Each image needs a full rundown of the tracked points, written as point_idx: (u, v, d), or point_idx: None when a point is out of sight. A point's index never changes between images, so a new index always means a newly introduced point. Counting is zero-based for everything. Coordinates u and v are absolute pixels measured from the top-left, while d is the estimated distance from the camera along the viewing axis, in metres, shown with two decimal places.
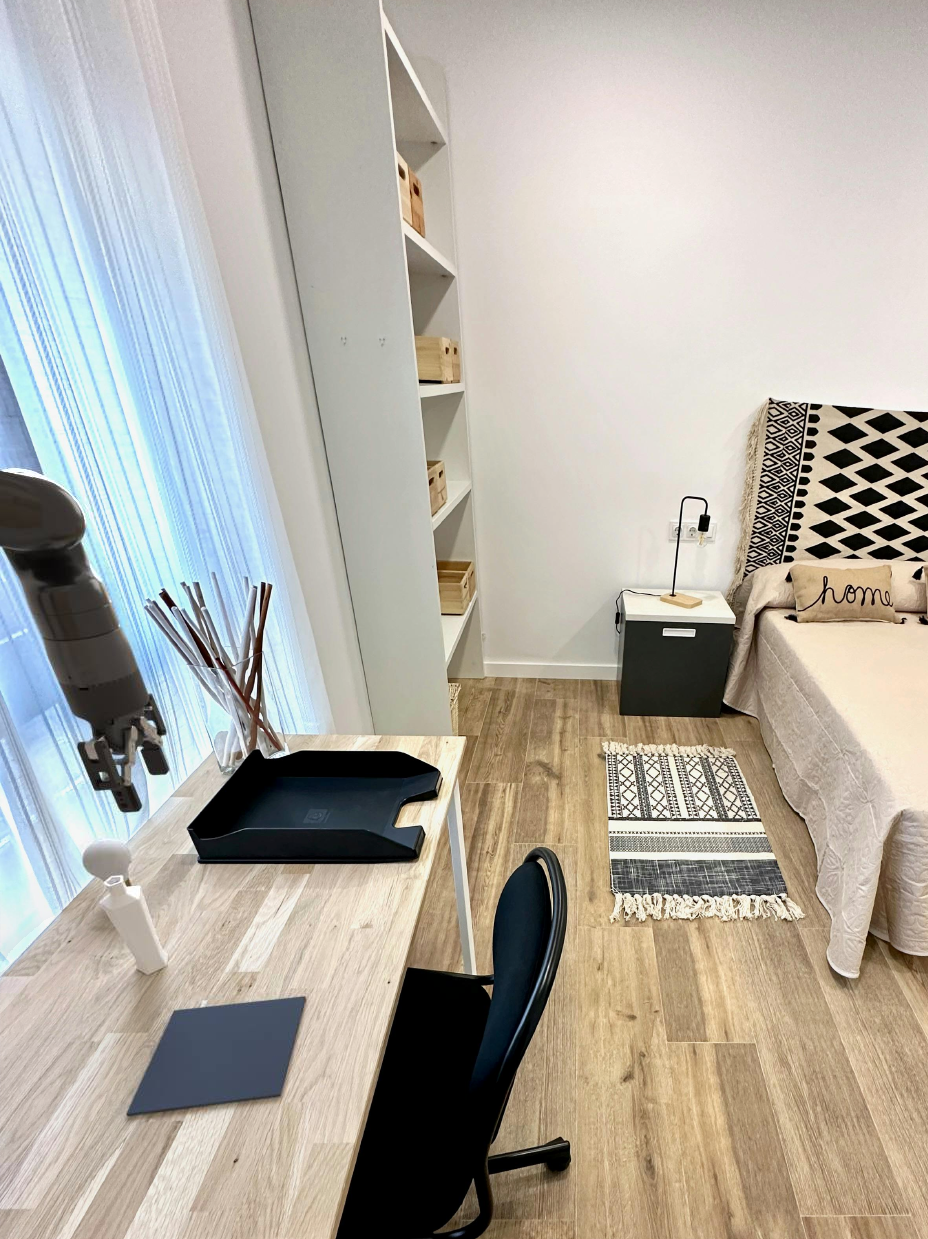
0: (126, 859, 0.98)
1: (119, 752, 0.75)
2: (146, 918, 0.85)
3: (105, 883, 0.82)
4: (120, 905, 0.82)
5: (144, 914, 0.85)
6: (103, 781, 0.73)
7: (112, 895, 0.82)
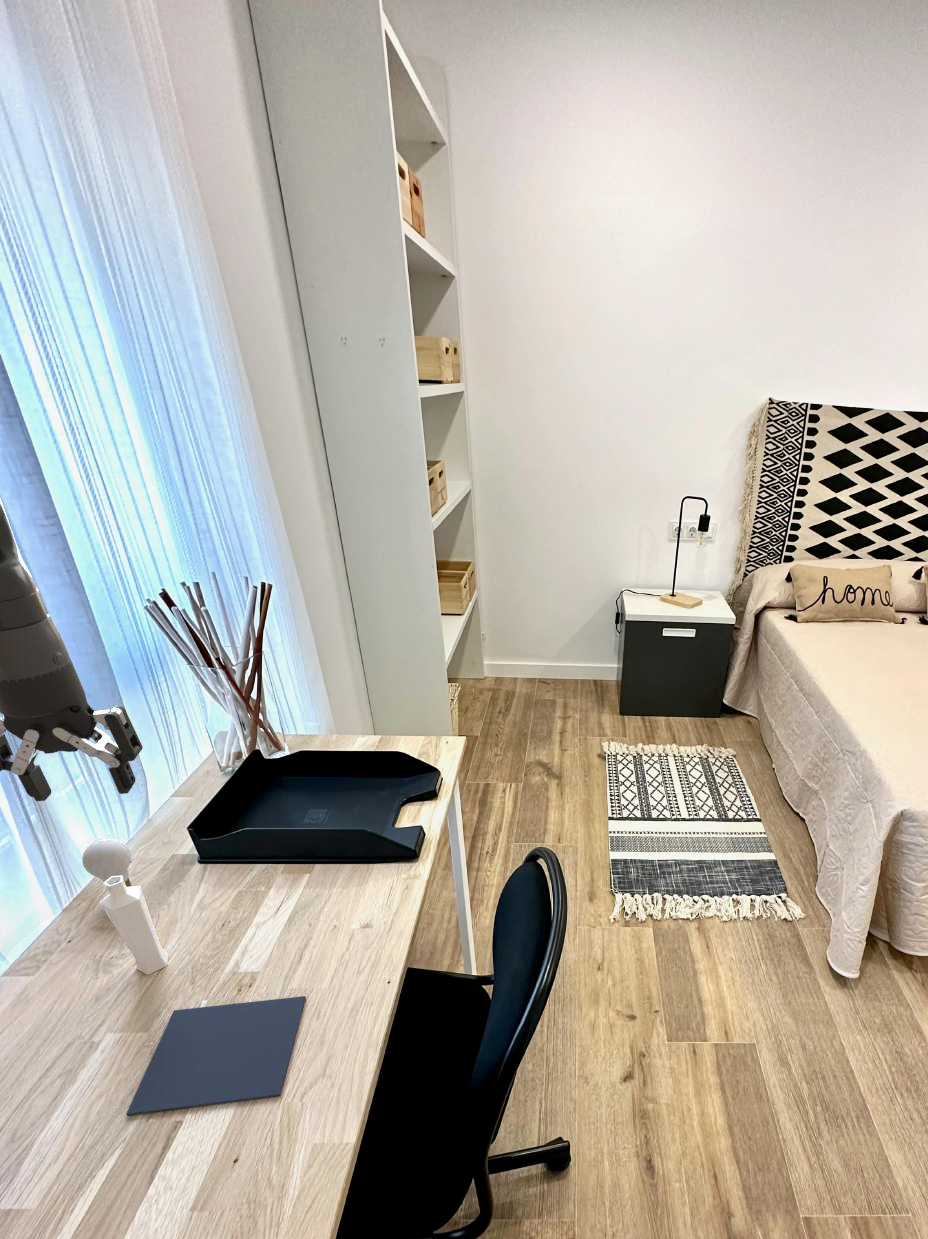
0: (126, 859, 0.98)
1: None
2: (146, 918, 0.85)
3: (105, 883, 0.82)
4: (120, 905, 0.82)
5: (144, 914, 0.85)
6: None
7: (112, 895, 0.82)
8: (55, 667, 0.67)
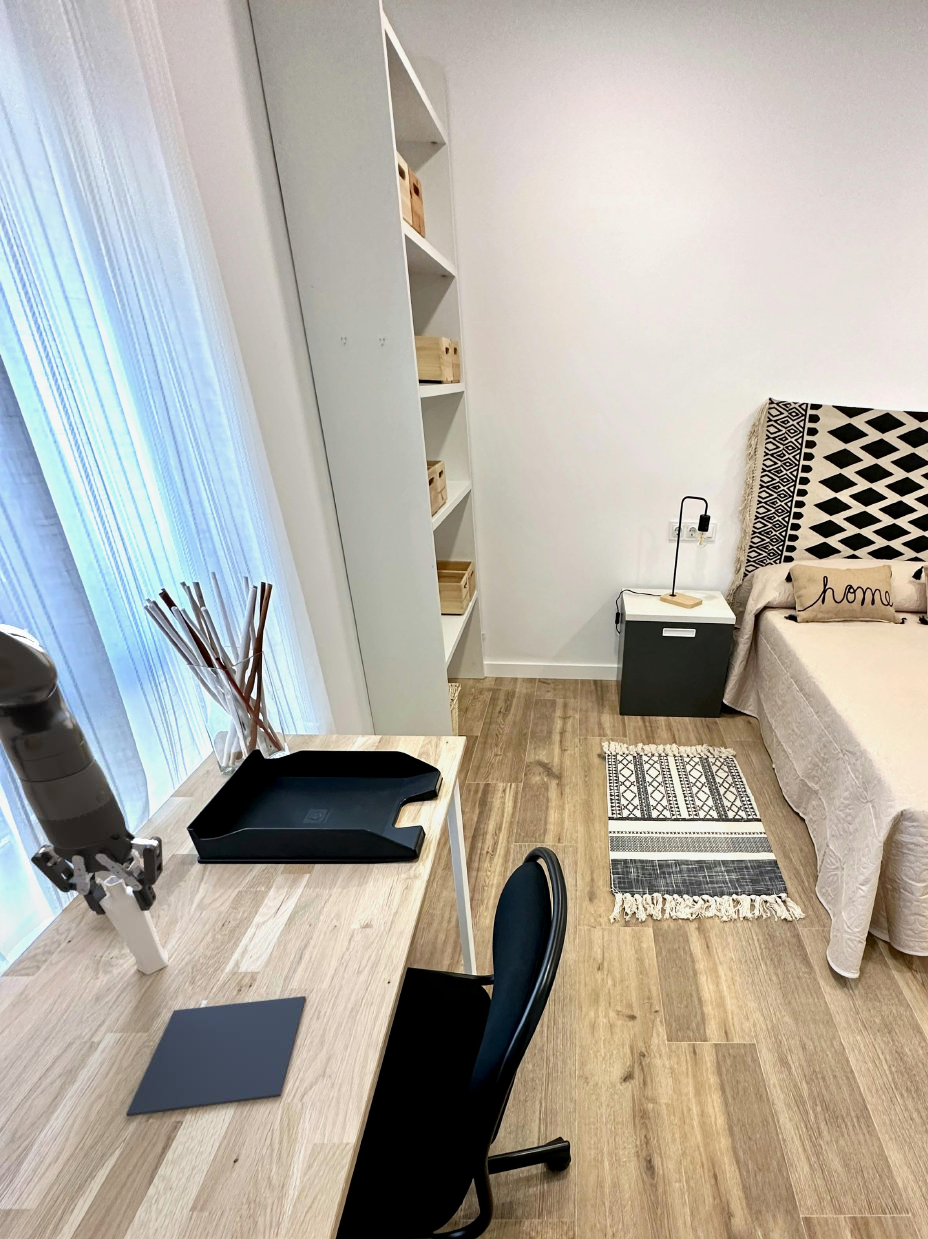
0: None
1: None
2: (146, 918, 0.85)
3: (105, 883, 0.82)
4: (120, 904, 0.82)
5: (144, 914, 0.85)
6: (66, 878, 0.81)
7: (112, 895, 0.82)
8: (98, 805, 0.75)
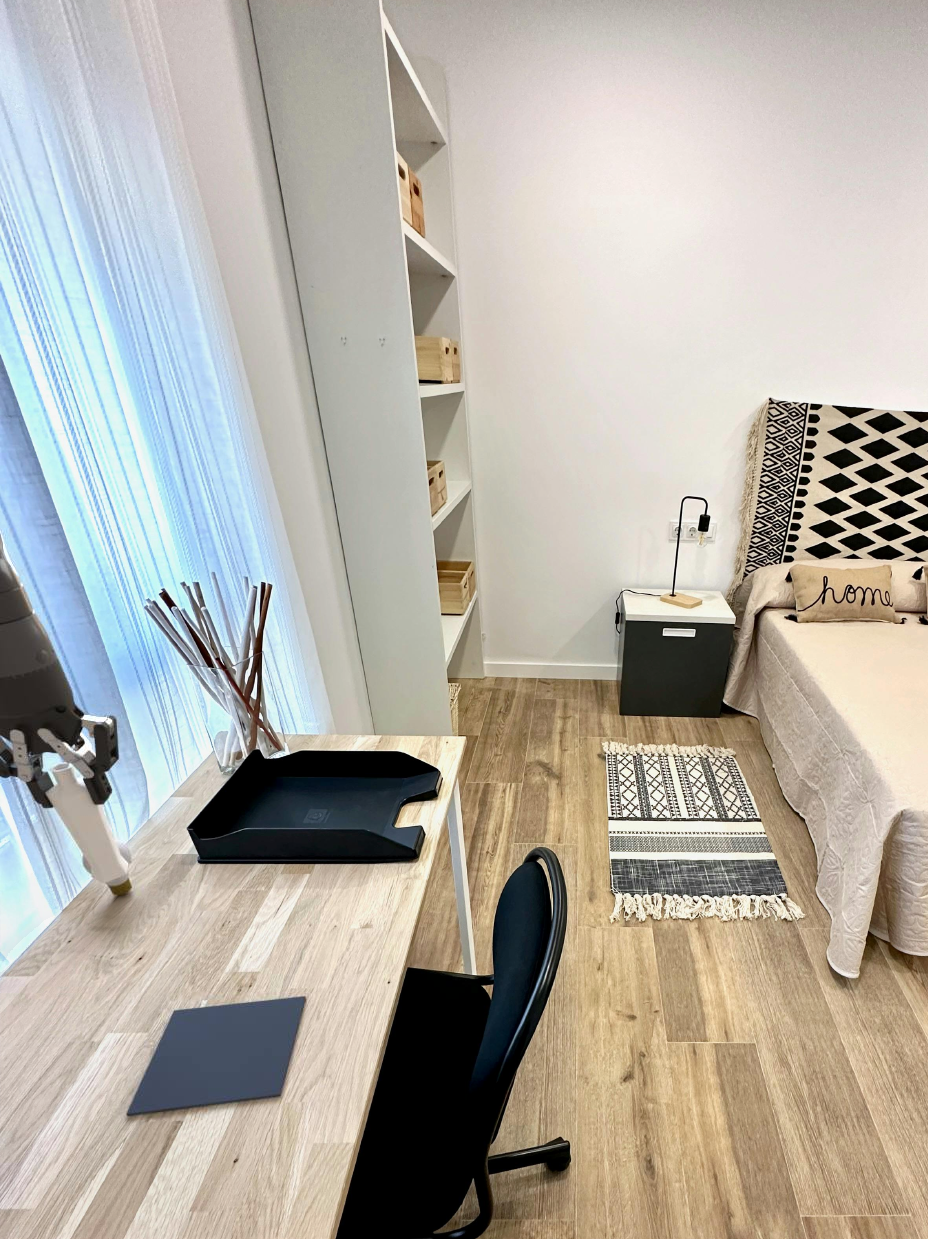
0: (126, 859, 0.98)
1: None
2: (100, 814, 0.75)
3: (51, 769, 0.71)
4: (68, 794, 0.72)
5: (98, 809, 0.74)
6: (6, 762, 0.70)
7: (59, 783, 0.72)
8: (39, 666, 0.64)
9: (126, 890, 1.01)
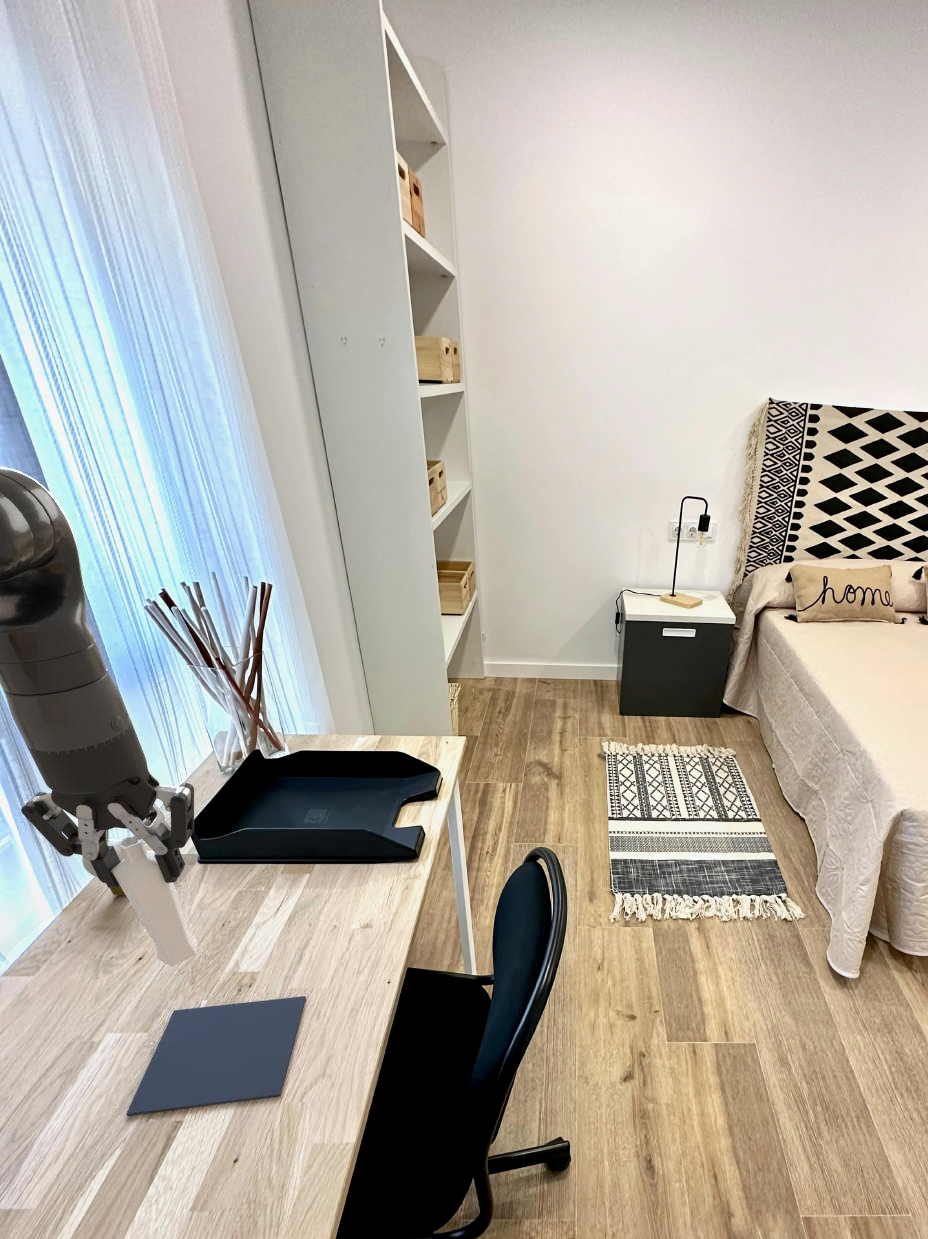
0: None
1: None
2: (171, 892, 0.66)
3: (119, 844, 0.62)
4: (138, 873, 0.63)
5: (169, 887, 0.65)
6: (68, 838, 0.61)
7: (128, 860, 0.63)
8: (113, 734, 0.55)
9: None
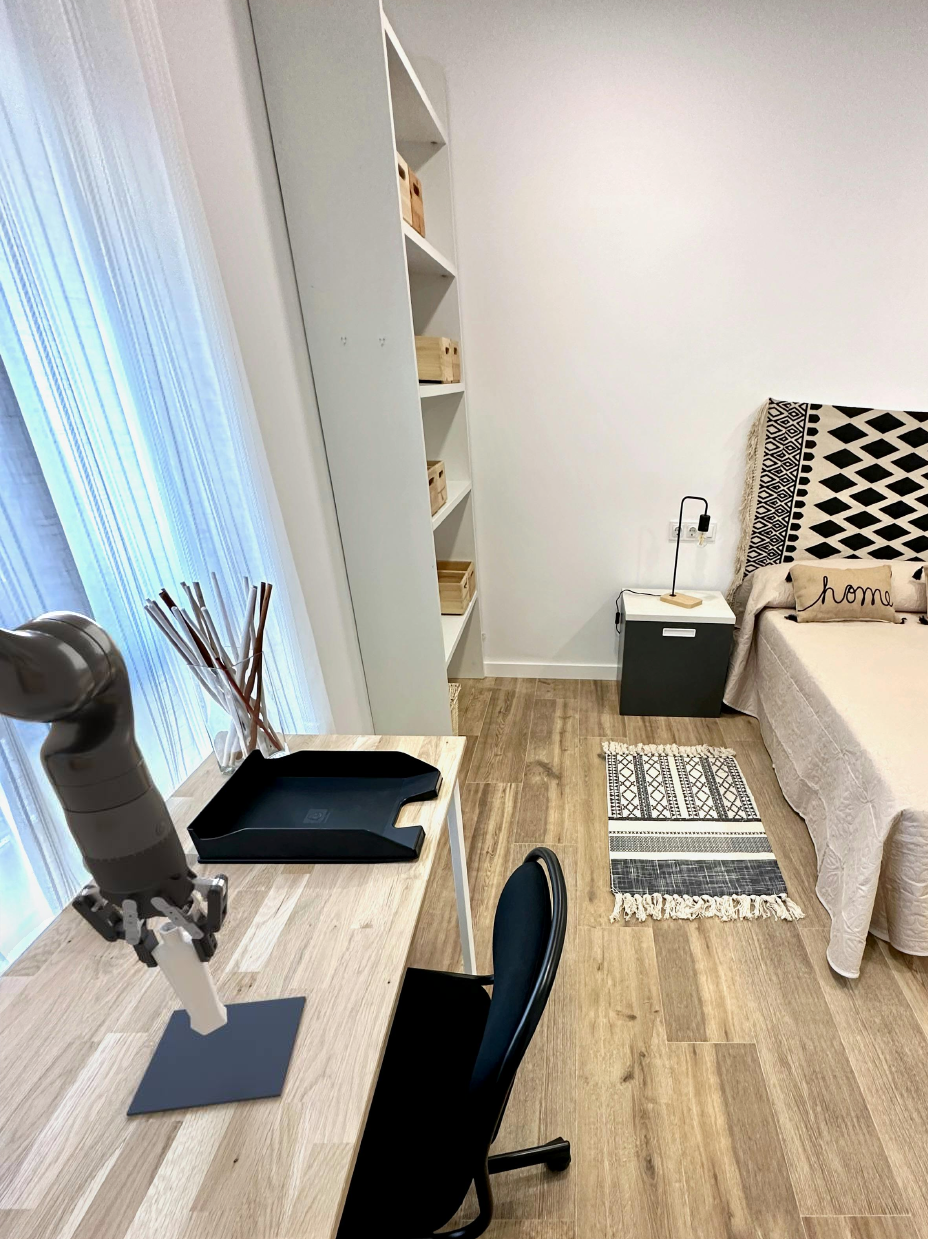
0: None
1: None
2: (205, 970, 0.71)
3: (159, 930, 0.67)
4: (176, 955, 0.68)
5: (203, 965, 0.70)
6: (113, 924, 0.67)
7: (167, 944, 0.68)
8: (158, 839, 0.60)
9: None
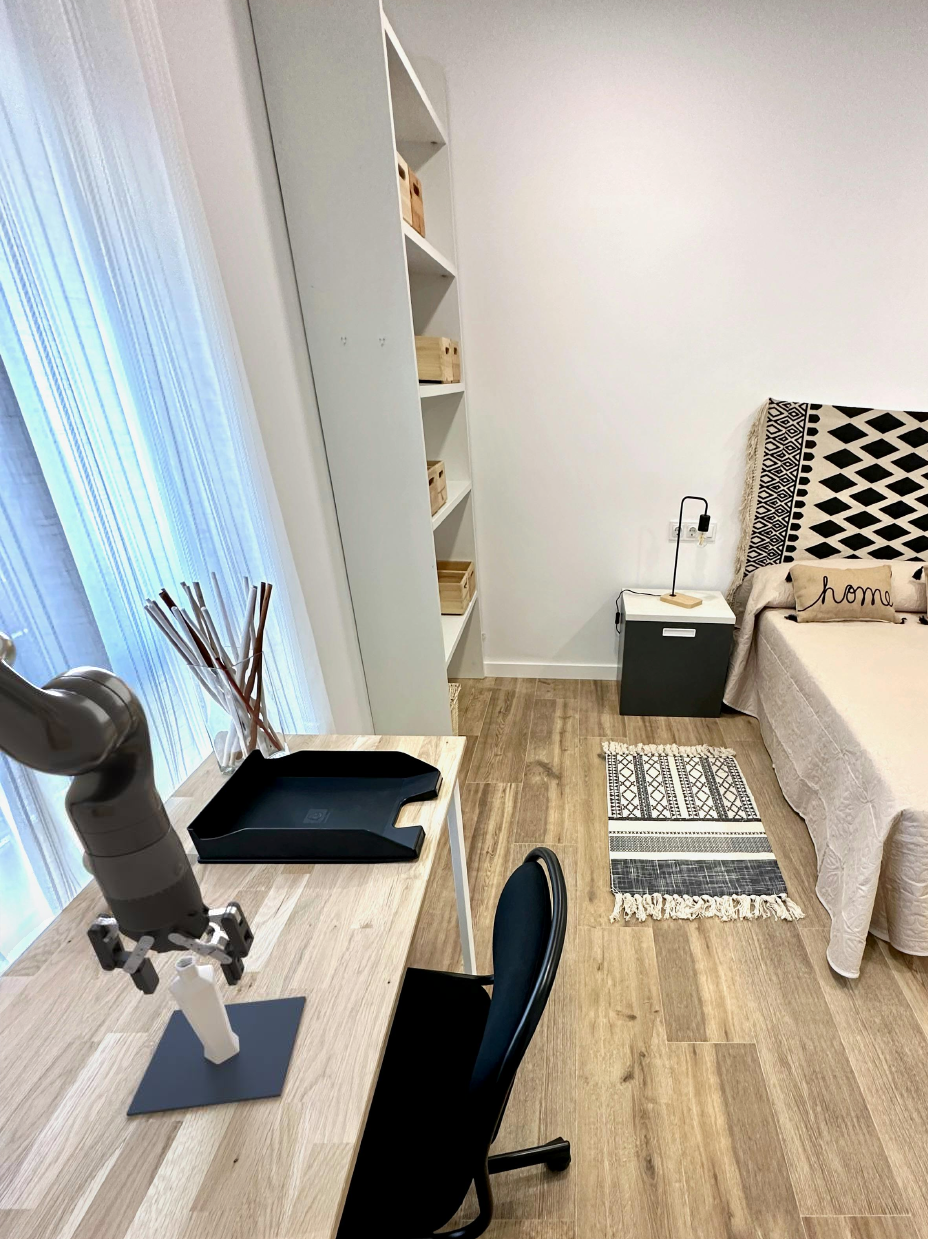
0: None
1: None
2: (219, 1002, 0.74)
3: (175, 966, 0.70)
4: (192, 990, 0.71)
5: (217, 998, 0.73)
6: None
7: (183, 979, 0.71)
8: (175, 879, 0.63)
9: None
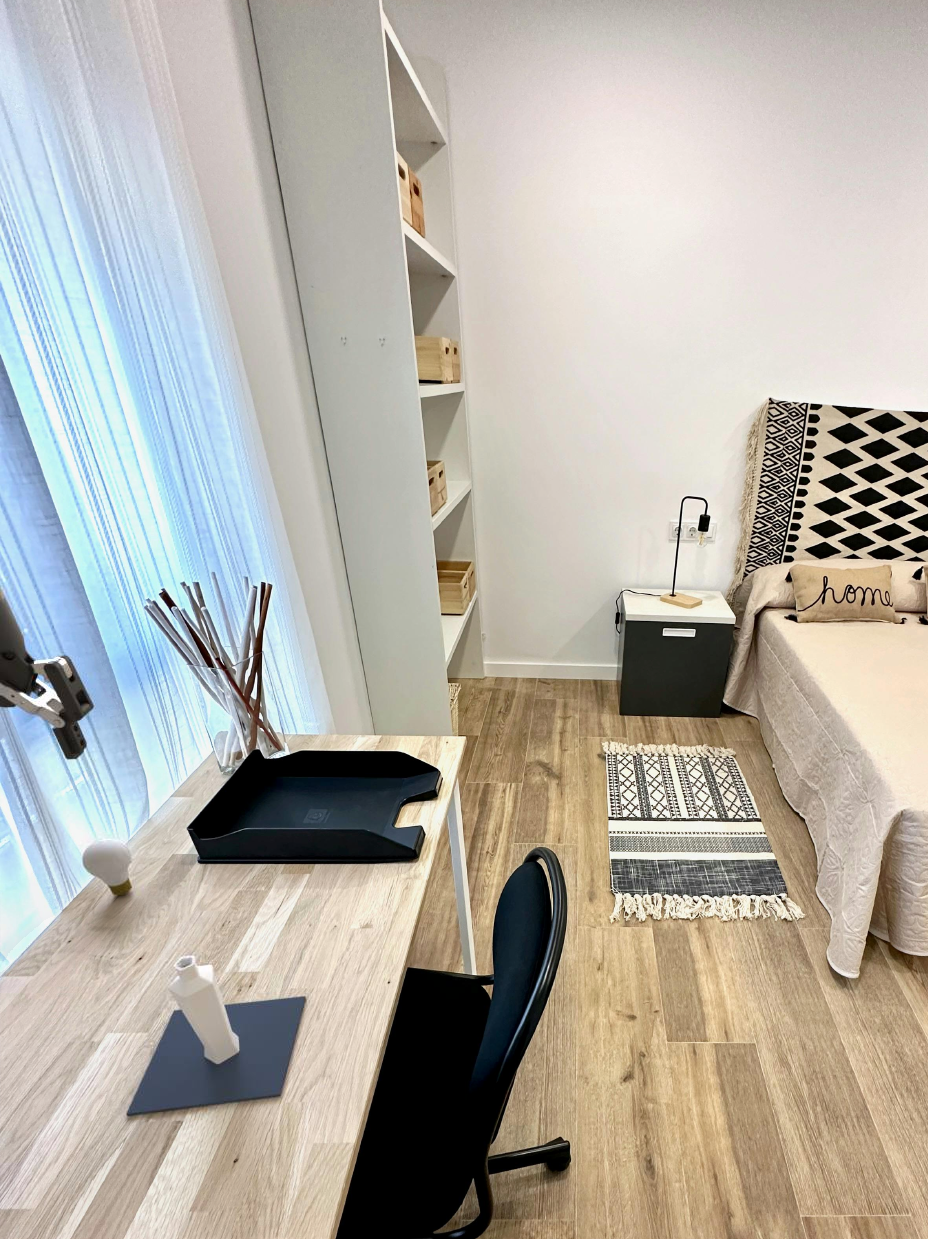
0: (126, 859, 0.98)
1: None
2: (219, 1002, 0.74)
3: (175, 966, 0.70)
4: (192, 991, 0.71)
5: (217, 998, 0.73)
6: None
7: (183, 979, 0.71)
8: None
9: (126, 890, 1.01)
